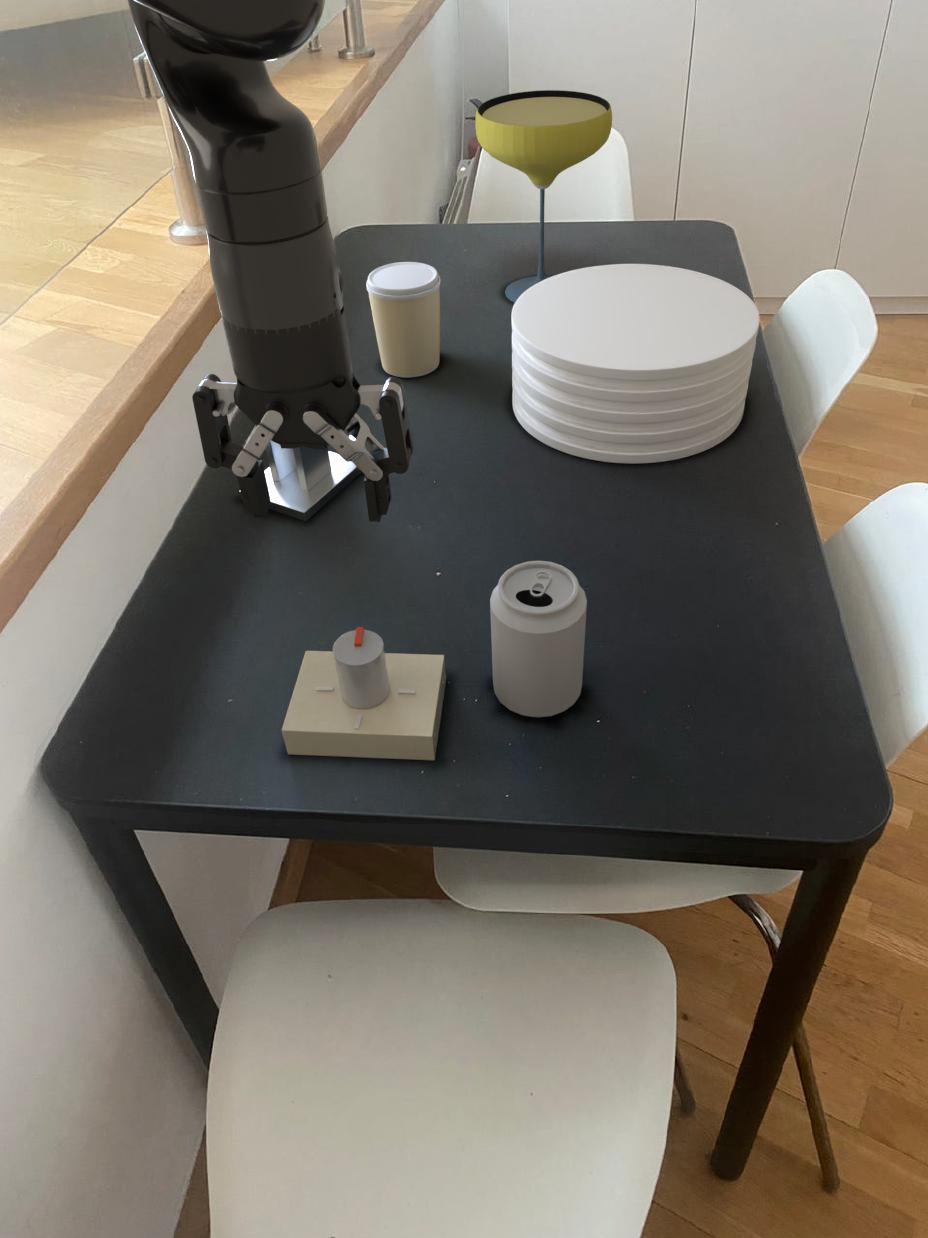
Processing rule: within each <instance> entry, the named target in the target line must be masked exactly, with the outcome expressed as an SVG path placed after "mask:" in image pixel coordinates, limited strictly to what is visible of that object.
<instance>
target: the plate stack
mask: <svg viewBox="0 0 928 1238" xmlns="http://www.w3.org/2000/svg"><path fill="white" fill-rule="evenodd" d="M510 316H511V317H510V318H511V369H512V371H511V386H512V393H511V395H512V396H511V403H512V411H513V414H514V416H515V418H516V420H517V422H518V424H520V426H521V427H522V428H523V429H524V430H525V431H526V432H527V434H529V435H531V436H532V437H533V438H535V439H536V440H538V441H539V442H541V443H542V444H544V445H546V446H548V447H550V448H553V449H555V450H557V451H560V452H562V453H565V454H568V455H571V456H574V457H578V458H582V459H587V460H592V461H596V462H597V461H598V462H603V463H614V464H632V465H633V464H636V465H637V464H653V463H662V462H663V463H664V462H669V461H675V460H680V459H684V458H687V457H692V456H694V455H697V454H700V453H703V452H705V451H707V450H709V449H712V448H714V447H715V446H718V445H720V444H721V443H722V442H724V441H725V440H727V438H729V437H730V436H731V435H732V434H733V433H734V432H735V431H736V429H737V428H738V426H739V425H740V423H741V421H742V419H743V417H744V411H745V407H746V406H745V404H746V398H747V393H748V390H749V381H750V376H751V371H752V367H753V358H754V355H755V350H756V344H757V336H758V334H759V328H760V321H761V320H760V319H761V317H760V312H759V309H758V307H757V306H756V304H755V303H754V301H753V299H751V297H750V296H748V295H747V294H746V293H745V292H744V291H742V290H741V289H739V288H738V287H736V286H734V285H733V284H731V283H729V282H727V281H725V280H722V279H720V278H718V277H715V276H713V275H712V276H711V275H709V274H707V273H703V272H699V271H696V270H692V269H687V268H683V267H676V266H670V265H663V264H662V265H661V264H650V263H649V264H648V263H613V264H603V265H594V266H586V267H582V268H575V269H572V270H568V271H564V272H561V273H558V274H555V275H552V276H551V277H550V278H547V279H545V280H543V281H541V282H539V283H537V284H535V285H533V286H532V287H530V288H529V289H527V290H526V291H525V292H524V293H523V294H522V295H521V296H520V297H519V298H518V299H517V301H516V302H515V303H513V306H512V309H511V315H510Z"/></svg>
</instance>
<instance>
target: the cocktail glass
mask: <svg viewBox="0 0 928 1238" xmlns="http://www.w3.org/2000/svg"><path fill="white" fill-rule="evenodd" d="M474 124H475V136H476V140H477V142H478V144H479V145H480V147H481V148H482V149H483V150H484V151H485V152H486V153H487V154H488V155H489V156H490V157H492V158H493V159H495V160H496V161H499V162H501V163H503V164H504V165H507V166H508V167H511V168H513V169H515V170H518V171H519V172H521V173H523V174H524V175H526V176H527V177H528V179H529V180H530V182H531V183H532V184H533V186H535V188H536V189H538V190H539V239H538V241H539V242H538V247H539V248H538V264H537V265H538V266H537V272H536V273H537V274H536V275H535V276H528V277H524V278H520V279H517V280H515V281H512V282H511V283H509V284H508V285H507V286H506V288H505V291H504V294H505V297H506V298H507V299H508V300H509V301H510V302H512V303H513V304H515V302H516V301H517V299H518V298H519V297H520V296H521V295H522V294H523V293H524V292H525V291H526V290H527V289H529V288H530V287H532V286H533V285H535V284H537V283H539V282H541V281H543V280H545V279H547V278H550V277H552V276H551V275H546V269H545V268H546V267H545V265H546V264H545V199H546V198H545V196H546V195H545V194H546V193H545V191H546V189H548V188H549V187H550V186H551V185H552V184H553V183H554V181H555V180H556V178H557V177H558V176H559V174H561V173H562V172H564V171H566V170H567V169H569V168H571V167H573V166H575V165H578V164H579V163H581V162H583V161H585V160H586V159H588V158H590V157H591V156H593V155H595V154H596V153H597V152H598V151H599V150H601V148H603V146H604V145H605V144H606V143H607V142H608V140H609V138H610V134H611V131H612V126H613V111H612V106H611V103H609V100H606V99H605V98H603V97H601V96H599V95H595V94H592V93H587V92H581V91H575V90H563V89H562V90H560V89H559V90H558V89H546V90H543V89H542V90H528V91H519V92H513V93H507V94H503V95H499V96H496V97H493V98H491V99H488V100H486V101H484V102H482V103H481V104H480V105H479V106H478V107H477V109H476V112H475V123H474Z"/></svg>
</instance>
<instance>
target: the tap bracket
mask: <svg viewBox="0 0 928 1238" xmlns="http://www.w3.org/2000/svg"><path fill="white" fill-rule="evenodd" d="M265 453H266V457H267V462H268V467H267V468H266V469H264V471H265V476H266V480H267V485H268V489H269V494H270V498H271V504H270V507H269V510H271V511H273V512H277V513H279V514H282V515H284V516H285V515H286V516H289V517H291V518H294V519H297V520H301V521H304V522H307V521H309V519H311V518H313V516H314V515H316V513H318V512H319V511H320V510H321V509H322V508H323V507H324V506H326V505H327V504H328V503H329V502H330V501H331V500H333V499H334V498H335V496H337V495H338V494H339V493H341V491H343V490H344V489H345V488H346V487H347V486H348V485H350V483H352V482H353V481H354V480H355V479H356V478H357V477H359V476H360V475H361V474H363V472H362V471H361V470H360V469H359V468H358V467H357V466H356V465H355V464H354V463H353V462H351V461H349V462H347V461H345V460H344V459H343V458H342V457H341V456H340V455H339V454H338V453H337V452H335V451H334V452H333V451H330V450H329V446H327V448H326V449H312V448H308V447H304V446H302V447H297V448H293V449H287V448H281V445H279V444H277V443H275V442H273V441H272V440H271V441H270V442H269V444H268V445H267V447H266V449H265ZM238 492H239V496H240V500H241V501H243V499H242V495H241V491H240V490H239V491H238Z"/></svg>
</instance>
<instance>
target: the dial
mask: <svg viewBox="0 0 928 1238" xmlns="http://www.w3.org/2000/svg"><path fill="white" fill-rule="evenodd" d="M332 651H333V657H334V662H335V667H336V672H337V677H338V682H339V687H340V692H341V696H342V699H343V700H344V702H345V703H346V704H348V705H349V706H351V707H354V708H359V709H367V708H372V707H375V706H377V705H379V704H381V703H382V702H383V701H384V700H385V699H386V698H387V696H388V695H389V692H390V684H389V678H388V671H387V664H386V657H385V653H386V651H385V644H384V641H383V638H382V637H381V636H380V635H379V634H378V633H377V632H374V631H372V630H370V629H369V630H368V629H365V627H364V626H357V627H356V629H354V630H350V631H347V632H345V633H343V634H341V635H340V636H338V637H337V639H336V640H335V641H334V643H333V645H332Z"/></svg>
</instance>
